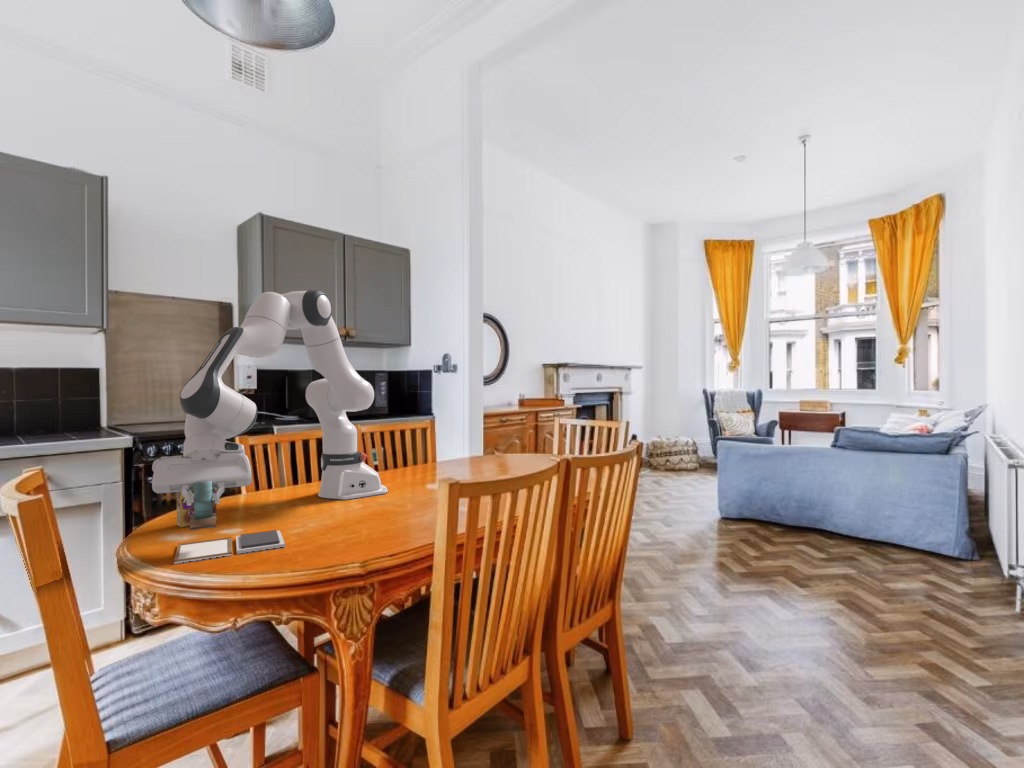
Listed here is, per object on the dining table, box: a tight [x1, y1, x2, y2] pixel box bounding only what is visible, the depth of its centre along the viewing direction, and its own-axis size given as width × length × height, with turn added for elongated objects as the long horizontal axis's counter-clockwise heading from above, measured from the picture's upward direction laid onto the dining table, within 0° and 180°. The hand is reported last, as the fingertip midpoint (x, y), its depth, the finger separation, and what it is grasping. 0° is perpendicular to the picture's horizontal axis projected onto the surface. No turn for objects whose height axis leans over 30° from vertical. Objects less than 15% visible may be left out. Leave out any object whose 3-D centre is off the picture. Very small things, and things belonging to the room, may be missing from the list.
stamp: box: [189, 481, 217, 531], centre depth 122 cm, size 5×5×10 cm
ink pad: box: [235, 529, 286, 555], centre depth 128 cm, size 10×12×1 cm
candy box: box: [176, 488, 218, 528], centre depth 145 cm, size 9×4×15 cm, turn 135°
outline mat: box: [173, 536, 233, 565], centre depth 123 cm, size 11×13×1 cm
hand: (203, 503), depth 122 cm, fingers closed on stamp, 4 cm apart
